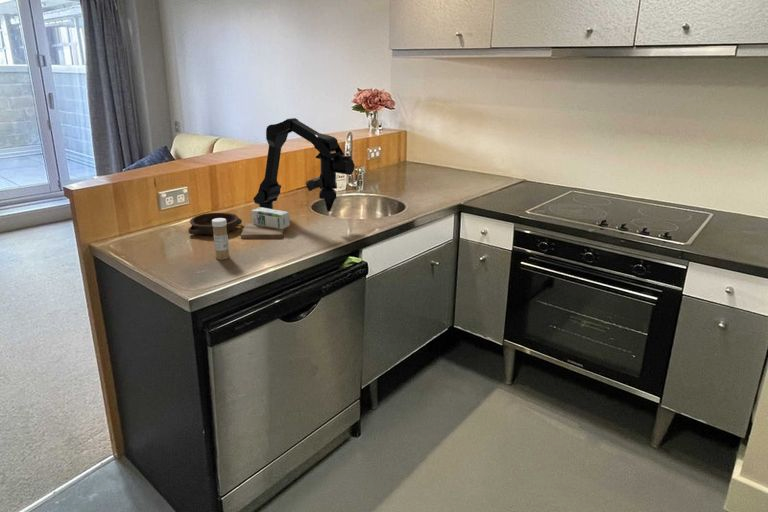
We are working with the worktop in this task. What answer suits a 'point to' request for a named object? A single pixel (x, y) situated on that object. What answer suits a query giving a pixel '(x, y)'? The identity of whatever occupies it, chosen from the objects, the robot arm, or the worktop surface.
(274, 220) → the syrup box
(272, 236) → the cutting board
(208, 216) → the dish
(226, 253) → the sprinkles bottle
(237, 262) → the worktop surface
